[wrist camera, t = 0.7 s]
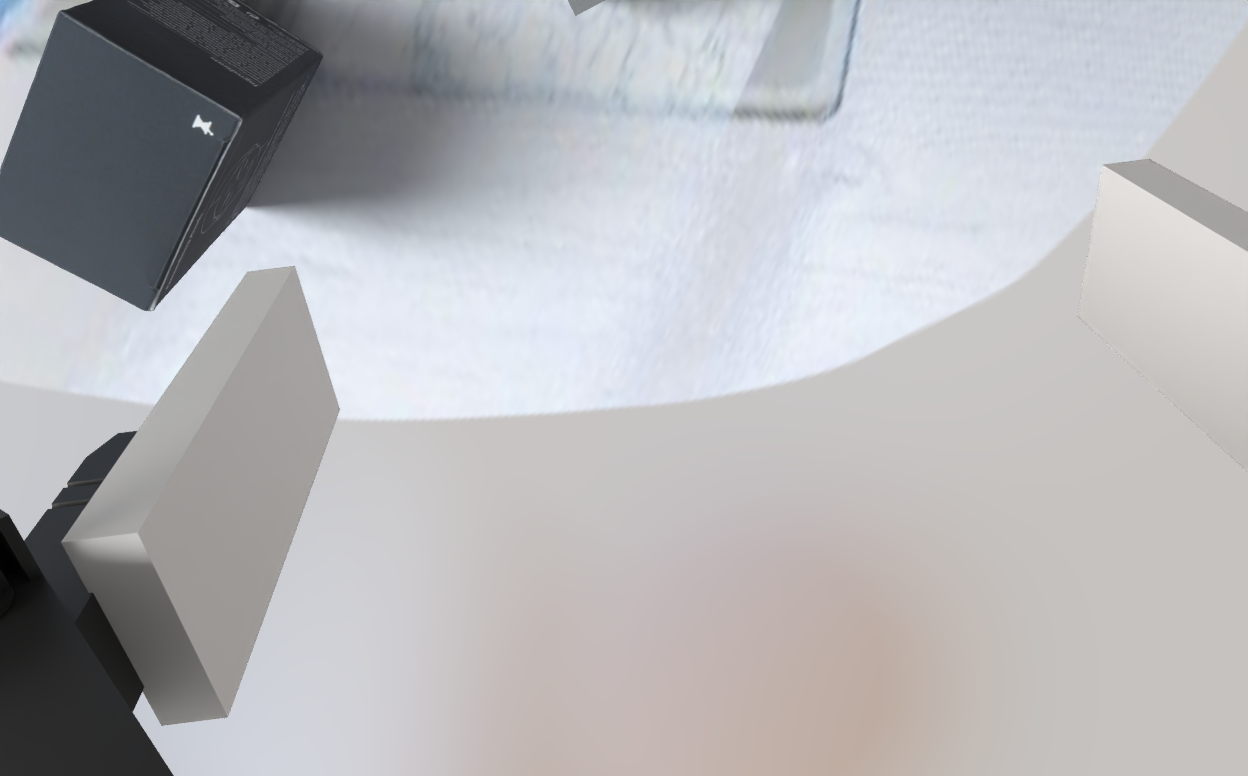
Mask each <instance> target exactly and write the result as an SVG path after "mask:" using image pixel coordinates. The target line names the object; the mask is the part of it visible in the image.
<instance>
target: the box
mask: <svg viewBox="0 0 1248 776" xmlns="http://www.w3.org/2000/svg"><path fill="white" fill-rule="evenodd" d="M321 59H322V54H321V53H320V52H318V51H317V50H315V49H314V48H312V47H311V46H309V45H307V44H306V43H304V42H303V41H301V40H300V39H298V38H297V37H295V36H294V35H292V34H291V33H289V32H287V31H286V30H285V29H283V28H281V27H280V26H278V25H277V24H276V23H274V22H272V21H270V20H269V19H267V18H265V17H264V16H262V15H260V14H259V13H258V12H256V11H255V10H253V9H252V8H250V7H249V6H247V5H245V4H244V3H242V2H241V1H239V0H93V1H90V2H88V3H84V4H81V5H78V6H74V7H72V8H70V9H67V10H61V11H59V13H58V15H57V17H56V20H55V23H54V25H53V28H52V31H51V33H50V36H49V39H48V42H47V45H46V48H45V50H44V53H43V56H42V58H41V61H40V64H39V66H38V69H37V72H36V75H35V78H34V80H33V83H32V85H31V88H30V91H29V93H28V96H27V99H26V102H25V104H24V107H23V110H22V112H21V115H20V118H19V120H18V123H17V126H16V128H15V131H14V134H13V136H12V139H11V142H10V145H9V147H8V150H7V153H6V155H5V158H4V160H3V163H2V166H1V169H0V237H2V238H4V239H6V240H8V241H9V242H11V243H13V244H15V245H17V246H19V247H21V248H23V249H25V250H27V251H29V252H31V253H33V254H35V255H37V256H39V257H41V258H43V259H45V260H47V261H49V262H51V263H53V264H54V265H56V266H58V267H60V268H62V269H64V270H66V271H68V272H70V273H72V274H74V275H76V276H78V277H80V278H82V279H84V280H86V281H88V282H90V283H92V284H94V285H96V286H98V287H100V288H102V289H104V290H106V291H108V292H109V293H111V294H113V295H115V296H117V297H119V298H121V299H123V300H125V301H127V302H129V303H130V304H132V305H134V306H136V307H138V308H140V309H142V310H144V311H153V310H154V309H155V308H156V306H157V305H158V304H159V303H160V302H161V300H162V299H163V298H164V297H165V296H166V295H167V294H168V292H169V291H170V290H171V289H172V288H173V287H174V286H175V285H176V284H177V283H178V281H179V280H180V279H181V278H182V277H183V276H184V275H185V274H186V273H187V271H188V270H189V269H190V268H191V267H192V265H193V264H194V263H195V262H196V261H197V260H198V259H199V258H200V257H201V256H202V254H203V253H204V252H205V251H206V250H207V249H208V248H209V246H210V245H211V244H212V243H213V242H214V241H215V240H216V239H217V238H218V237H219V236H220V234H221V233H222V232H223V231H224V230H225V229H226V228H227V227H228V226H229V225H230V224H231V222H232V221H233V220H234V219H235V218H236V217H237V216H238V215H239V214H240V213H241V212H242V211H243V210H244V208H245V207H246V205H247V204H248V202H249V200H250V198H251V196H252V194H253V193H254V191H255V189H256V186H257V184H258V183H259V181H260V179H261V177H262V175H263V173H264V171H265V169H266V167H267V165H268V164H269V162H270V160H271V158H272V156H273V154H274V152H275V150H276V148H277V146H278V144H279V142H280V140H281V138H282V136H283V134H284V132H285V130H286V129H287V127H288V125H289V123H290V121H291V119H292V117H293V115H294V113H295V111H296V109H297V107H298V105H299V103H300V101H301V99H302V97H303V95H304V93H305V91H306V89H307V87H308V85H309V83H310V81H311V79H312V78H313V76H314V74H315V72H316V70H317V68H318V66H319V64H320V61H321Z"/></svg>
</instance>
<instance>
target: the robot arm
mask: <svg viewBox="0 0 1248 776" xmlns="http://www.w3.org/2000/svg"><path fill="white" fill-rule="evenodd" d="M1077 317H1078V318H1079V319H1080V320H1081V321H1082V322H1084V323H1085V324H1086V325H1087V326H1088V327H1089V328H1090V329H1091V330H1092V331H1093V332H1095V333H1096V334H1097V335H1098V336H1099V337H1100V338H1101V339H1102V340H1103V341H1105V343H1106V344H1108V345H1109V346H1110V347H1111V348H1112V349H1113V350H1114V351H1115V352H1116V353H1118V355H1120V356H1121V357H1122V358H1123V359H1124V360H1125V361H1126V362H1127V363H1128V364H1129V365H1130V366H1132V367H1133V368H1134V369H1135V370H1136V371H1137V372H1138V373H1139V374H1140V375H1141V376H1142V377H1144V378H1145V379H1146V380H1147V381H1148V382H1149V383H1150V384H1151V385H1152V386H1153V387H1155V388H1156V389H1157V390H1158V391H1159V392H1160V393H1161V394H1162V395H1163V396H1164V397H1165V398H1166V399H1168V400H1169V401H1170V402H1171V403H1172V404H1173V405H1174V406H1175V407H1176V408H1178V410H1180V411H1181V412H1182V413H1183V414H1184V415H1185V416H1186V417H1187V418H1188V419H1189V420H1191V421H1192V422H1193V423H1194V424H1195V425H1196V426H1197V427H1198V428H1199V429H1200V430H1202V431H1203V432H1204V433H1205V434H1206V435H1207V436H1208V437H1209V438H1210V439H1211V440H1212V441H1213V442H1214V443H1216V444H1217V445H1218V446H1219V447H1220V448H1221V449H1222V450H1223V451H1224V452H1225V453H1227V454H1228V455H1229V456H1230V457H1231V458H1232V459H1233V460H1234V461H1235V462H1236V463H1238V464H1239V465H1240V466H1241V467H1242V468H1243V469H1244V470H1245V471H1246V472H1247V473H1248V212H1246V211H1244V210H1242V209H1241V208H1239V207H1237V206H1235V205H1233V204H1231V203H1230V202H1228V201H1226V200H1224V199H1222V198H1220V197H1218V196H1217V195H1215V194H1213V193H1211V192H1209V191H1208V190H1206V189H1204V188H1202V187H1200V186H1198V185H1196V184H1195V183H1193V182H1191V181H1189V180H1187V179H1185V178H1183V177H1182V176H1180V175H1178V174H1176V173H1174V172H1173V171H1171V170H1169V169H1167V168H1165V167H1163V166H1162V165H1160V164H1158V163H1156V162H1154V161H1152V160H1150V159H1145V160H1137V161H1129V162H1121V163H1113V164H1105V165H1102V171H1101V177H1100V183H1099V189H1098V195H1097V201H1096V207H1095V214H1094V219H1093V225H1092V231H1091V237H1090V243H1089V249H1088V255H1087V262H1086V267H1085V273H1084V279H1083V285H1082V291H1081V297H1080V303H1079V309H1078V315H1077ZM339 411H340V408H339V405H338V402H337V399H336V396H335V392H334V389H333V386H332V383H331V380H330V376H329V373H328V370H327V367H326V364H325V361H324V357H323V354H322V351H321V348H320V345H319V341H318V338H317V335H316V332H315V329H314V326H313V322H312V319H311V316H310V313H309V310H308V306H307V303H306V300H305V297H304V294H303V291H302V287H301V284H300V281H299V278H298V275H297V271H296V268H295V266H290V267H282V268H274V269H266V270H258V271H250V272H247V273H246V275H245V276H244V278H243V279H242V280H241V282H240V283H239V285H238V286H237V288H236V289H235V291H234V292H233V294H232V295H231V296H230V298H229V299H228V301H227V302H226V304H225V305H224V307H223V308H222V309H221V311H220V312H219V314H218V315H217V317H216V318H215V320H214V321H213V323H212V324H211V325H210V327H209V328H208V330H207V331H206V333H205V334H204V336H203V337H202V338H201V340H200V341H199V343H198V344H197V346H196V347H195V349H194V350H193V352H192V353H191V354H190V356H189V357H188V359H187V360H186V362H185V363H184V365H183V366H182V368H181V369H180V370H179V372H178V373H177V375H176V376H175V378H174V379H173V381H172V382H171V383H170V385H169V386H168V388H167V389H166V391H165V392H164V394H163V395H162V397H161V398H160V399H159V401H158V402H157V404H156V405H155V407H154V408H153V410H152V411H151V413H150V414H149V416H148V417H147V418H146V420H145V421H144V423H143V424H142V426H141V427H140V429H139V430H138V431H133V432H125V433H118V434H117V435H115V436H114V437H113V438H111V439H110V440H109V441H107V442H106V443H105V444H103V445H102V446H101V447H99V448H98V449H97V450H95V451H94V452H93V453H91V454H90V455H89V456H87V457H86V458H85V460H84V461H83V462H82V464H81V465H80V466H79V468H78V469H77V471H76V472H75V473H74V475H73V476H72V477H71V479H70V480H69V481H68V483H67V484H68V488H63V489H62V491H61V492H60V493H59V495H58V496H57V498H56V499H55V500H54V501H53V503H52V509H48V510H47V511H46V512H45V514H44V515H43V516H42V518H41V519H40V520H39V522H38V523H37V524H36V526H35V527H34V529H33V530H32V531H31V533H30V534H29V535H28V537H27V538H26V539H25V541H24V540H23V539H22V537H21V535H20V533H19V532H18V530H17V528H16V526H15V525H14V523H13V521H12V519H11V518H10V516H9V514H7V513H5V512H4V511H2V510H1V509H0V776H173V774H172V773H171V771H170V770H169V768H168V766H167V765H166V763H165V762H164V760H163V759H162V757H161V756H160V754H159V753H158V751H157V749H156V748H155V747H154V745H153V743H152V742H151V740H150V739H149V737H148V736H147V734H146V732H145V731H144V729H143V728H142V727H141V725H140V723H139V722H138V720H137V719H136V717H135V715H134V714H133V710H134V708H135V706H136V704H137V702H138V700H139V697H140V695H141V693H142V691H143V692H144V694H145V696H146V698H147V700H148V702H149V704H150V705H151V707H152V709H153V711H154V713H155V715H156V716H157V718H158V720H159V722H160V724H161V725H162V726H163V725H170V724H178V723H185V722H194V721H202V720H210V719H218V718H225V717H228V715H229V712H230V710H231V707H232V704H233V701H234V699H235V696H236V693H237V691H238V687H239V685H240V682H241V680H242V677H243V674H244V671H245V669H246V666H247V663H248V660H249V658H250V655H251V652H252V649H253V647H254V644H255V641H256V638H257V636H258V633H259V630H260V627H261V625H262V622H263V619H264V617H265V614H266V611H267V608H268V606H269V603H270V600H271V597H272V594H273V592H274V589H275V586H276V583H277V581H278V578H279V575H280V573H281V570H282V567H283V564H284V561H285V559H286V556H287V553H288V550H289V548H290V545H291V542H292V539H293V537H294V534H295V531H296V529H297V526H298V523H299V520H300V518H301V515H302V512H303V509H304V507H305V504H306V501H307V498H308V496H309V493H310V490H311V487H312V485H313V482H314V479H315V476H316V473H317V471H318V468H319V466H320V463H321V460H322V457H323V455H324V452H325V449H326V446H327V444H328V441H329V438H330V435H331V432H332V430H333V427H334V424H335V422H336V419H337V416H338V413H339Z"/></svg>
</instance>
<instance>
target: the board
mask: <svg viewBox="0 0 1248 776" xmlns="http://www.w3.org/2000/svg"><path fill="white" fill-rule="evenodd" d="M568 1H569V3H570V6H571V8H572V10H573V12H574V14H575V16H576V15H578V14H580V13H582V12H584V11H586V10H587V9H589V8H591V7H593V6H595V5H597V4H599V3H600V2H602V1H604V0H568Z"/></svg>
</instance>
